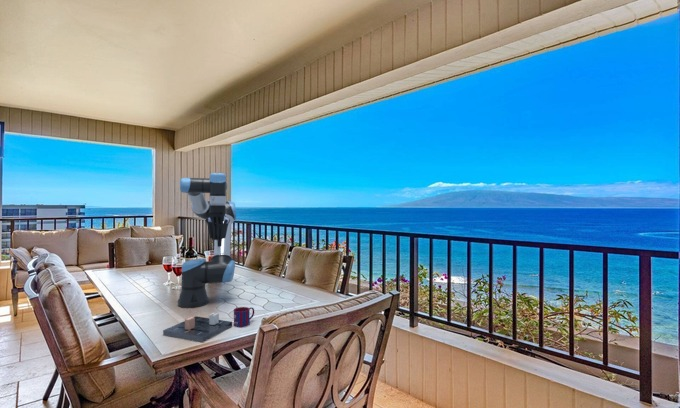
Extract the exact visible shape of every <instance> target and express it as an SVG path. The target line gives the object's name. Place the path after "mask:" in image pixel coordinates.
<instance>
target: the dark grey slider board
mask: <svg viewBox="0 0 680 408" xmlns="http://www.w3.org/2000/svg"><path fill="white" fill-rule="evenodd" d="M192 317H193V316H192ZM193 318H195V327H194V328H192V329H190V330H187V329H185V320H184V321H182V322H180V323H177V324H175V325H173V326H170V327H168V328H165V329H163V331H162V333H163V334H162V336H166V337H171V338H177V339H182V340H187V341H192V340H193V342H199V343H205V342H206V341H208V340H210V339H212V338H213V337H216V336H217V335H219V334H221V333H223V332H225V331H226V330H228V329H231V328H233V321H229V320H223V319H219V323H217V324H215V325H211V324H209V317H203V316H196V315H195V316H194V317H193Z"/></svg>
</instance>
